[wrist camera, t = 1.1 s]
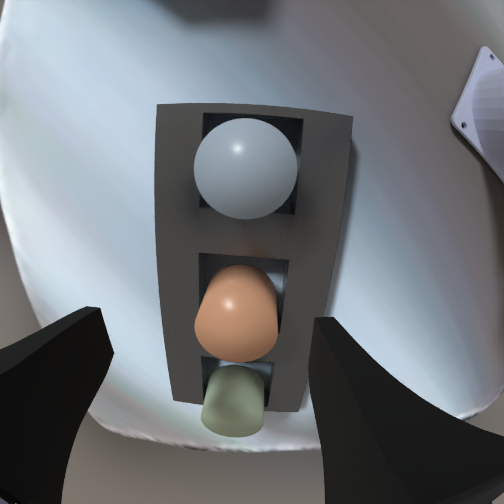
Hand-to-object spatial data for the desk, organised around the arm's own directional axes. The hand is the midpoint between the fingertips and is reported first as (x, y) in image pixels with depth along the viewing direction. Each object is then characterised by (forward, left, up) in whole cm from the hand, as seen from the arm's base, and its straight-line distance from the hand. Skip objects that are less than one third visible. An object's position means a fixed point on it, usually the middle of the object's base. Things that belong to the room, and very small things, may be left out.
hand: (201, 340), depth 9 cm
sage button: (-5, +9, -8) cm, 13 cm away
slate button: (+1, -5, -7) cm, 9 cm away
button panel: (-2, +2, -10) cm, 10 cm away
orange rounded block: (-2, +2, -7) cm, 8 cm away
